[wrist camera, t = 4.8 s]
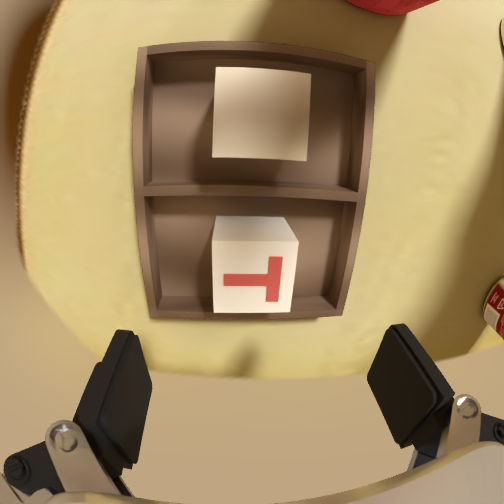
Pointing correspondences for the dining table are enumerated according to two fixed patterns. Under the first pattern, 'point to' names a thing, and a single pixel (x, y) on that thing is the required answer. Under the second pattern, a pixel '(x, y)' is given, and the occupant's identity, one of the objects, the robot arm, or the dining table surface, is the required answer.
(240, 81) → the plain cube
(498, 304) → the soda can
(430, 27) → the dining table surface
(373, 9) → the wine bottle
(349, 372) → the dining table surface
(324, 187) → the organiser
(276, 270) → the letter cube
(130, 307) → the dining table surface
